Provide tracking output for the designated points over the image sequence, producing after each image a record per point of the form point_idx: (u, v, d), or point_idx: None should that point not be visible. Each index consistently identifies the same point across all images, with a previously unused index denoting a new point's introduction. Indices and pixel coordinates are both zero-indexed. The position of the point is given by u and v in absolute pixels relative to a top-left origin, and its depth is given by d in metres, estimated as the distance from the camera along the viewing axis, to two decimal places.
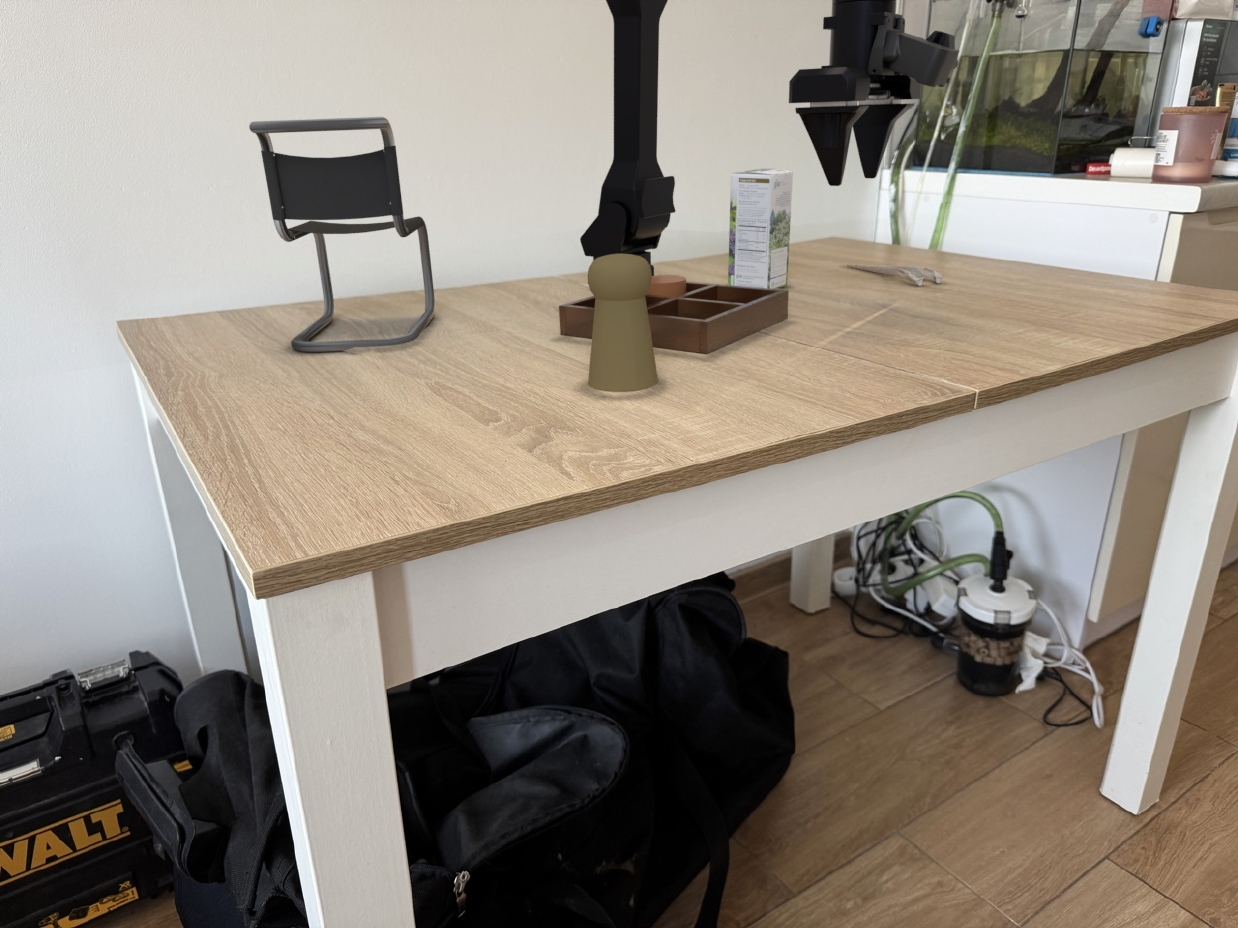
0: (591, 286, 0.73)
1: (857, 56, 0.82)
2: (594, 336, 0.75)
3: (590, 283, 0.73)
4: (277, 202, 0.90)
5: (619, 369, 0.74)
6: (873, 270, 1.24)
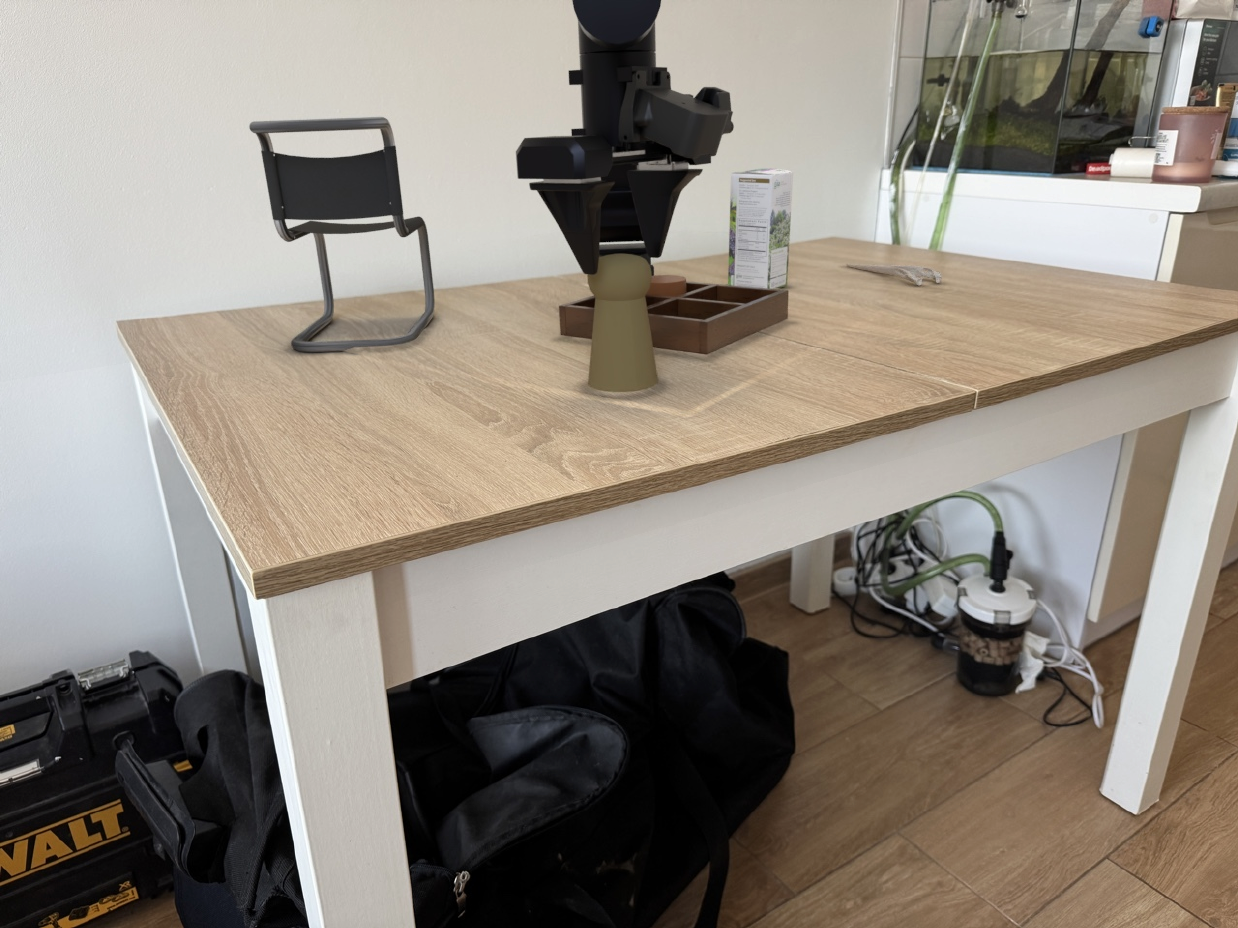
0: (591, 286, 0.73)
1: (607, 118, 0.67)
2: (594, 336, 0.75)
3: (590, 283, 0.73)
4: (277, 202, 0.90)
5: (619, 369, 0.74)
6: (873, 270, 1.24)
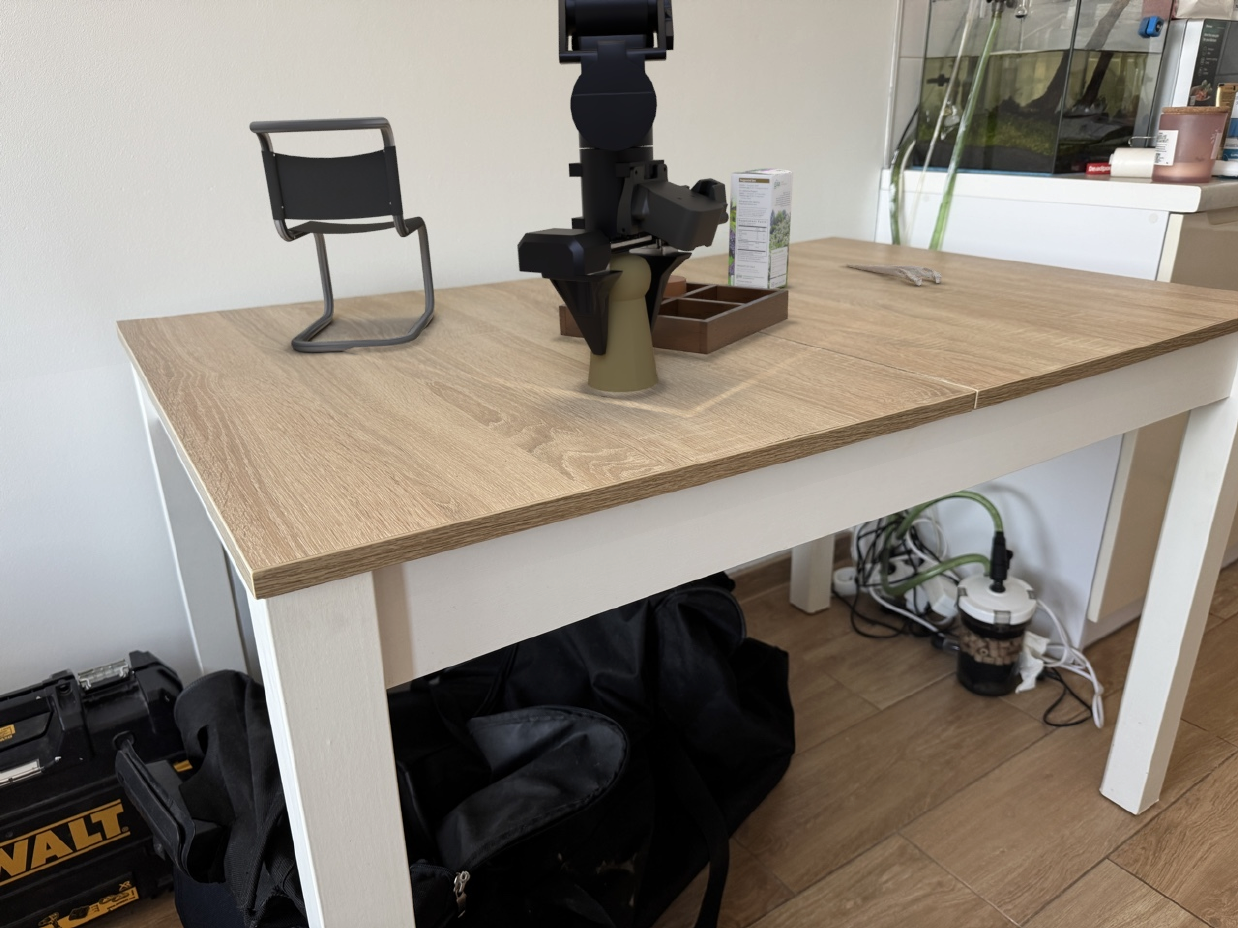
0: None
1: (605, 211, 0.69)
2: None
3: None
4: (277, 202, 0.90)
5: (619, 369, 0.74)
6: (872, 270, 1.24)
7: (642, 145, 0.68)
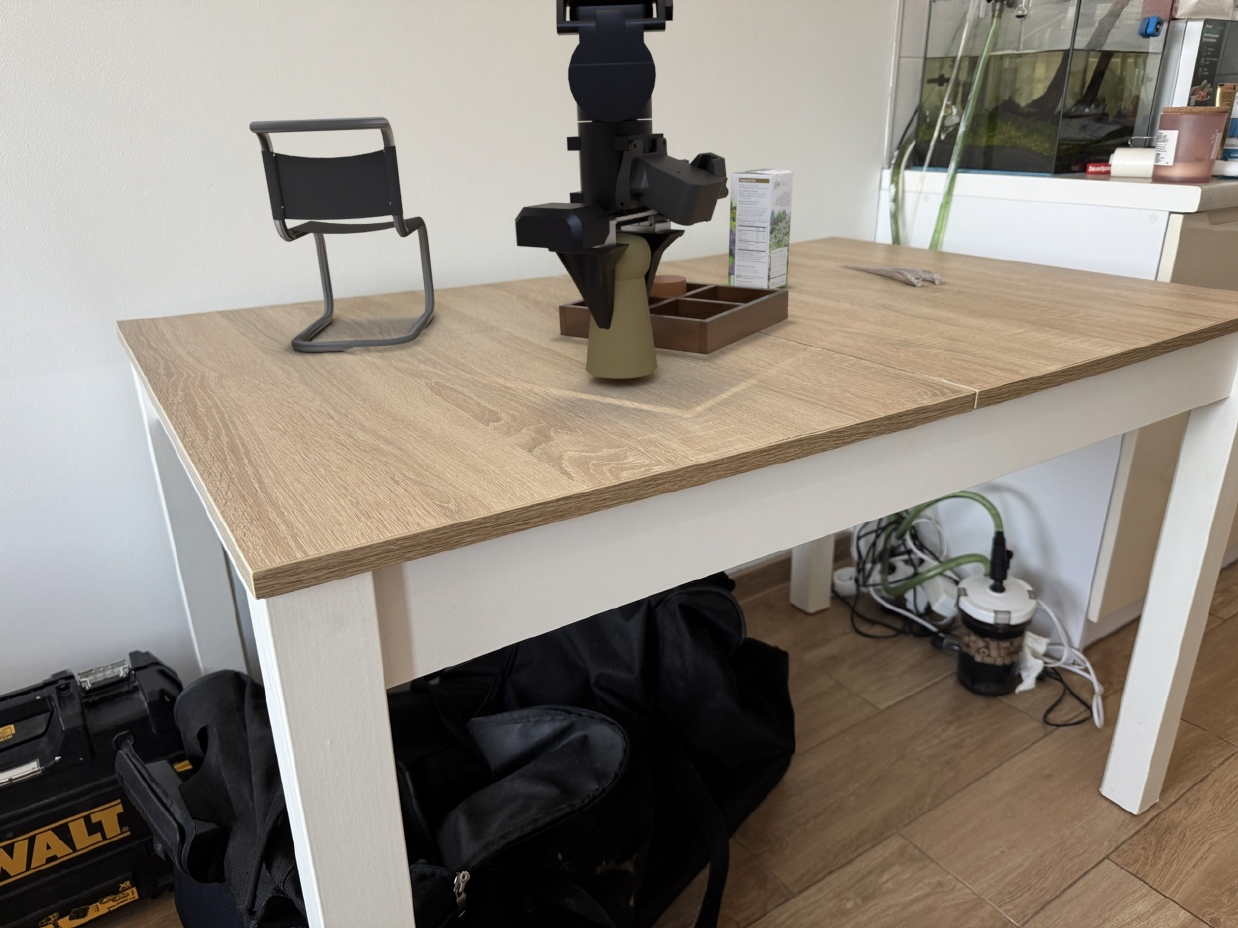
0: None
1: (604, 185, 0.69)
2: None
3: None
4: (277, 202, 0.90)
5: (617, 349, 0.73)
6: (872, 272, 1.25)
7: (641, 118, 0.67)
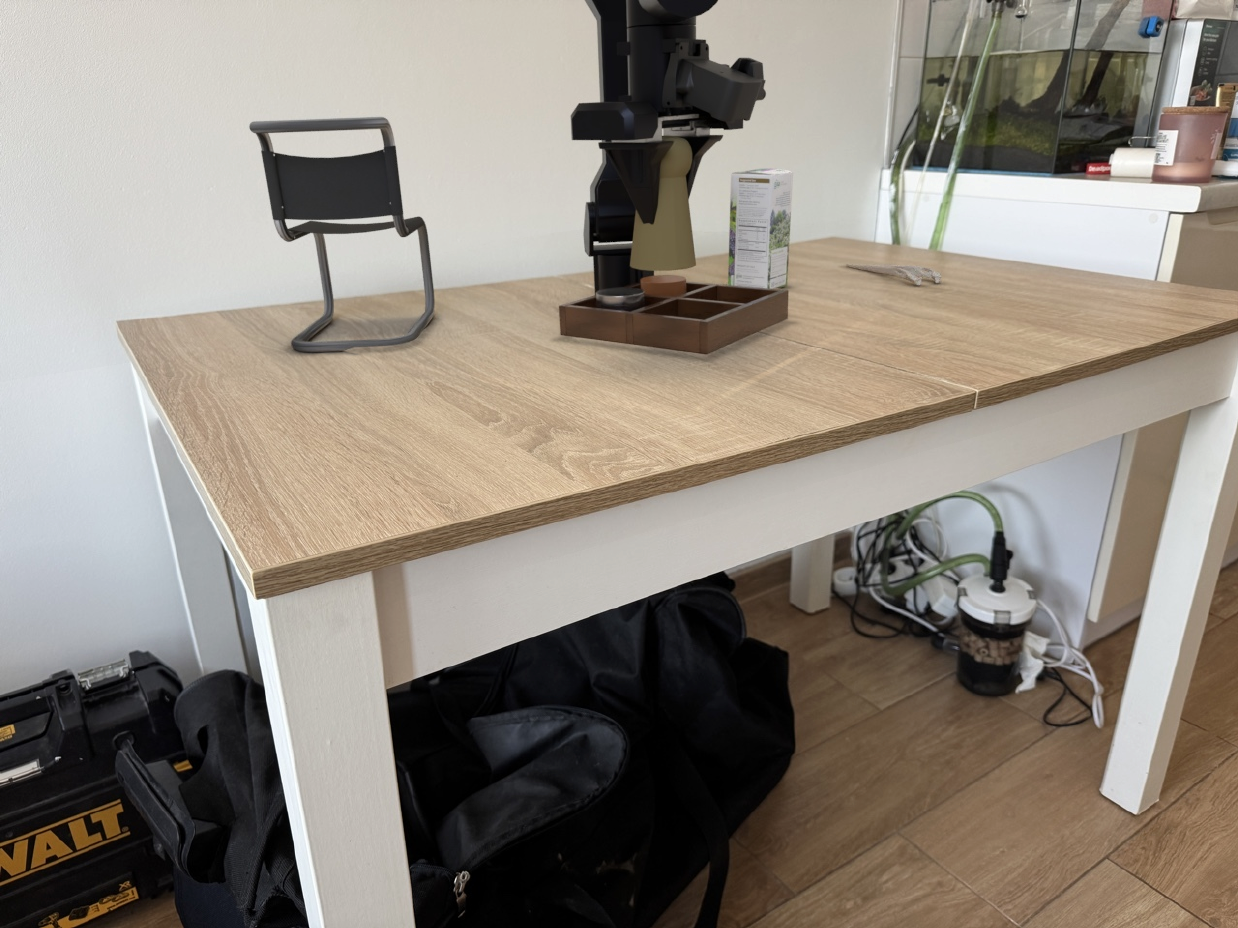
0: None
1: (651, 86, 0.74)
2: (637, 213, 0.80)
3: None
4: (277, 202, 0.90)
5: (661, 243, 0.79)
6: (872, 270, 1.24)
7: (687, 23, 0.73)
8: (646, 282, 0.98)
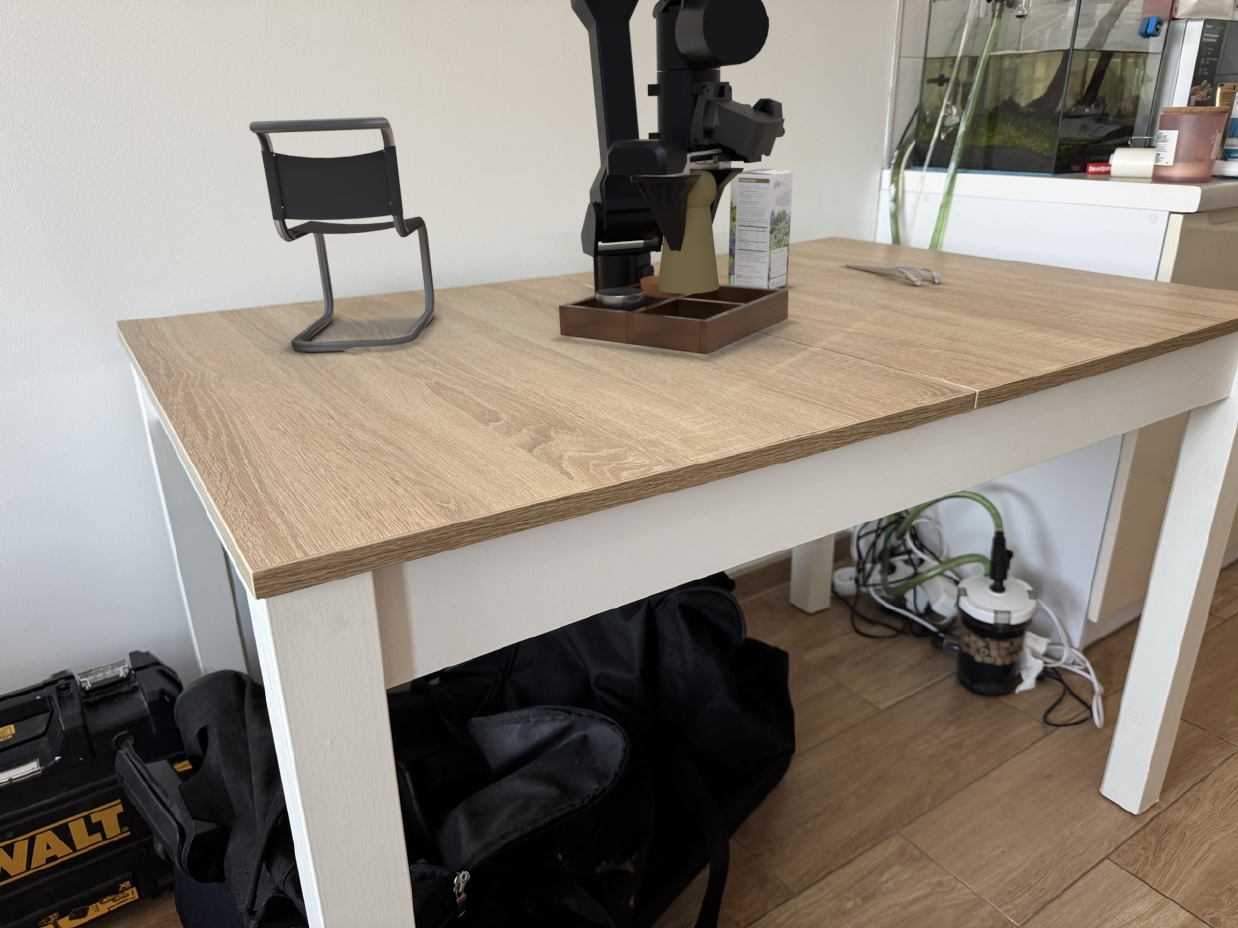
0: None
1: (680, 125, 0.81)
2: (665, 241, 0.86)
3: None
4: (277, 202, 0.90)
5: (687, 268, 0.85)
6: (872, 270, 1.24)
7: None
8: (646, 282, 0.98)
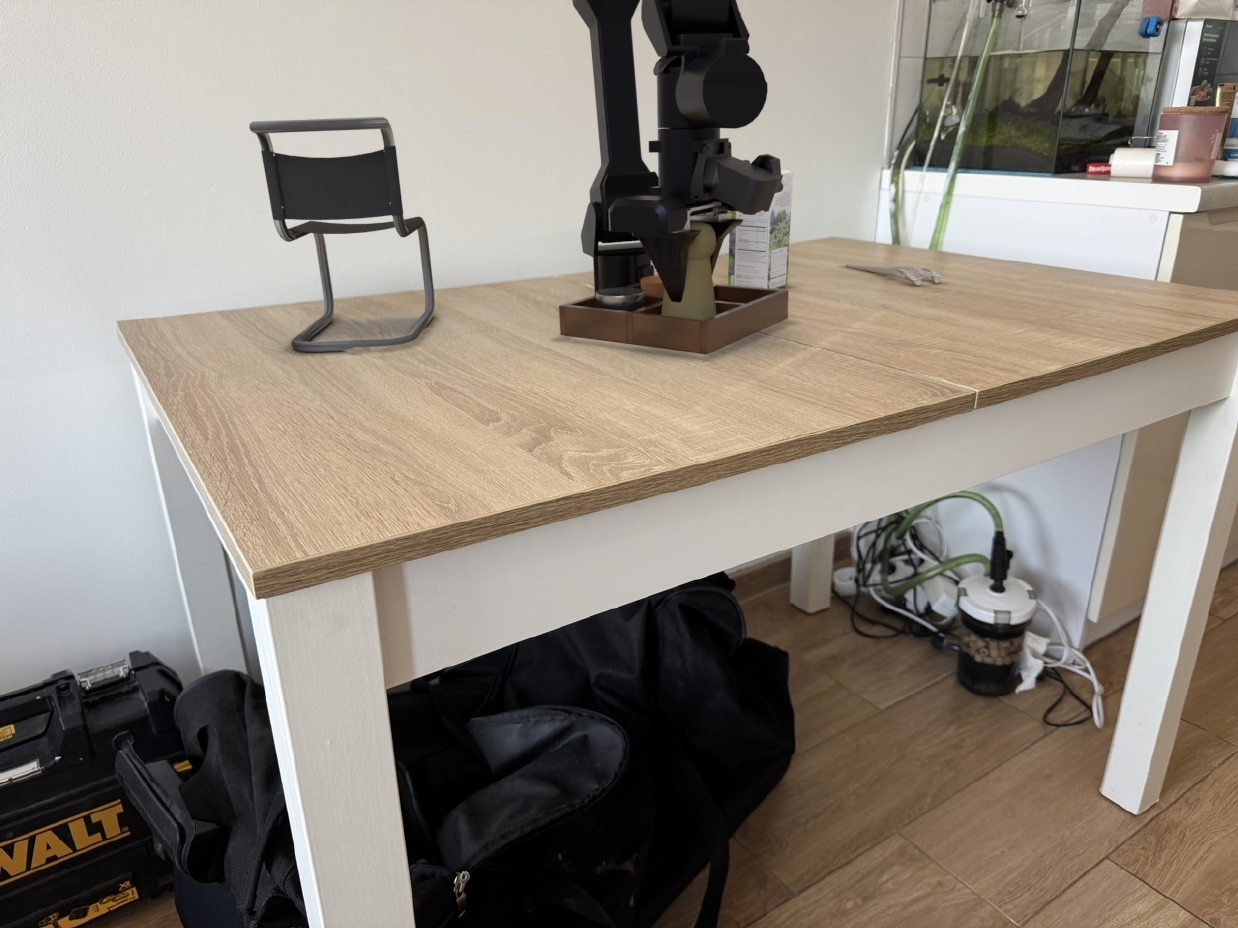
0: None
1: (680, 181, 0.83)
2: None
3: None
4: (277, 202, 0.90)
5: None
6: (871, 270, 1.24)
7: None
8: (646, 282, 0.98)
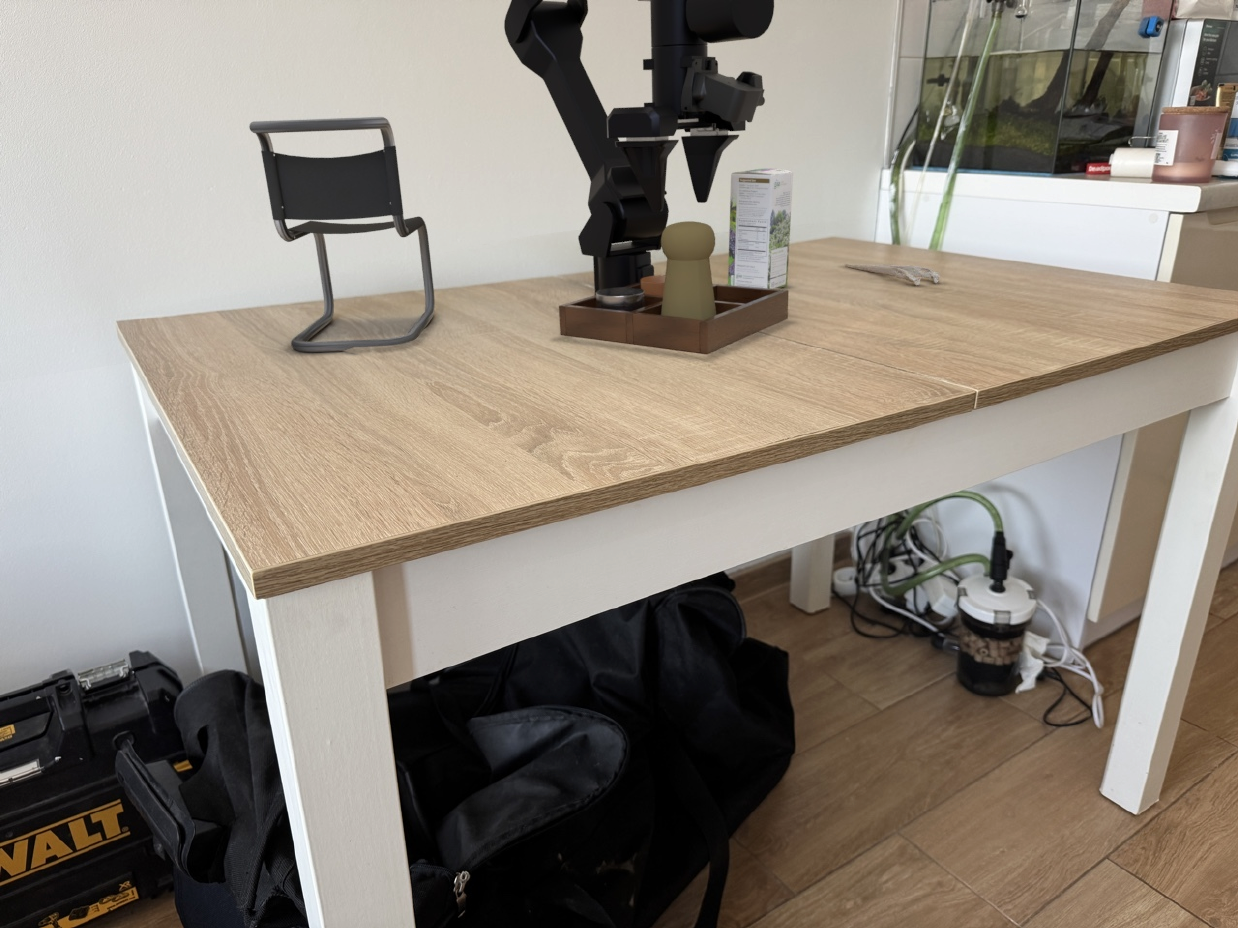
0: (665, 248, 0.86)
1: (672, 94, 0.91)
2: (666, 291, 0.88)
3: (664, 246, 0.86)
4: (277, 202, 0.90)
5: None
6: (871, 270, 1.25)
7: (700, 43, 0.90)
8: (646, 282, 0.98)
